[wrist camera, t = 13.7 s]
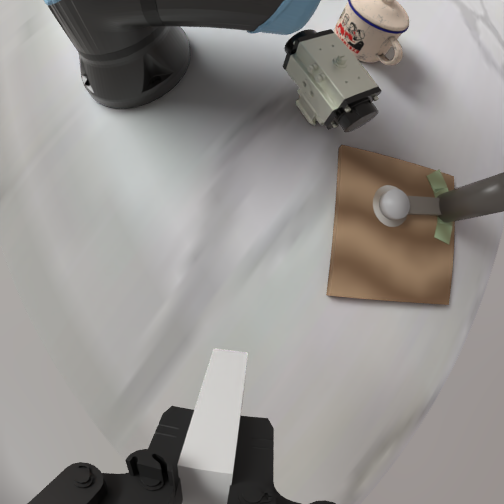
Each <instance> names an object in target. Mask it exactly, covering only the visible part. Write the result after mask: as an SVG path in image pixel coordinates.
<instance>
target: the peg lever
mask: <svg viewBox="0 0 504 504" xmlns="http://www.w3.org/2000/svg"><path fill="white" fill-rule="evenodd" d="M379 208H380V211H381V213H382V215H383V216H384V217H385V218H387V219H389V220H397V219H401V218H404V217H405V216H406V215H434V216H438V217H439V218H440V219H441V220H442V221H443V222H446V223H449V222H454V221H459V220H464V219H469V218H473V217H478V216H483V215H488V214H493V213H498V212H502V211H504V173H500V174H498V175H495V176H492V177H489V178H486V179H483V180H480V181H477V182H474V183H471V184H468V185H465V186H463V187H460V188H457V189H454V190H451V191H448V192H445V193H442V194H440V195H439V196H438V197H437V198H433V197H419V196H407V195H406V194H405V193H404V192H403V191H402V190H400V189H392V190H389V191H387V192H385V193H384V194H382V196H381V197H380V200H379Z"/></svg>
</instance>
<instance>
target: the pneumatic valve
mask: <svg viewBox="0 0 504 504" xmlns="http://www.w3.org/2000/svg"><path fill="white" fill-rule="evenodd" d="M285 52H286V53H287V55H286V58H285V61H284V64H283V68H284V69H285V70H286V72H287V73H288V74H289V75H290V77H291V78H292V79H293V81H294V82H295V83H296V85H297V86H298V87H299V89H298V91H297V92H298V94H299V95H300V97H299V99H297V100H296V105H297V107H298V108H299V109H300V111H301V112H302V114H303V115H304V117H305V118H306V119H307V121H308V122H309V124H310V123H311V124H312V125H316V122H315V121H316V120H317V121H318V122H319V123H320V125H326V127H327V128H328V130H329V129H331V128H333V127H334V128H336V127H338V125H340V126H341V127H342V129H343V130H344V132H350V131H353V130H355V129H357V128H359V127H361V126H362V125H364V124H366V123H367V122H369V121H370V120H371V119H373V118H374V117H375V116H376V115H377V114H378V110H377V108H376V107H375V105H374V104H373V103H372V101H373V100H374V101H376V100H378V97H377V96H378V95H379V94H380V92H381V89H380V88H379V87H378V85H377V84H376V83H375V81H374V80H373V79H372V77H371V76H370V75H369V74H368V72H367V71H366V70H365V68H364V67H363V66H362V65H361V63H360V62H359V61H358V60H357V58H356V57H355V56H354V55H353V54H352V52H351V51H350V50H349V49H348V48H347V46H346V45H345V44H344V43H343V42H342V41H341V40H340V38H339V37H338V36H337V35H336V34H335V33H334V32H333V31H332V30H331V29H330V30H326V31H322V32H318V33H316V31H314V30H304V31H301V32H299V33H297V34H295V35H294V36H293V37H291V38H290V39H289V40H288V42H287V43H286V45H285Z"/></svg>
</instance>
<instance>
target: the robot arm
mask: <svg viewBox="0 0 504 504" xmlns="http://www.w3.org/2000/svg"><path fill="white" fill-rule="evenodd" d="M320 1H321V0H44V2H45V3H46V4H47V5H48V7H49V9H50V10H51V12H52V13H53V15H54V16H55V18H56V19H57V21H58V22H59V24H60V25H61V27H62V28H63V30H64V31H65V33H66V34H67V36H68V37H69V39H70V40H71V42H72V43H73V45H74V46H75V48H76V49H77V51H78V52H79V59H80V69H81V77H82V81H83V84H84V86H85V88H86V89H87V91H88V92H89V93H90V95H91V96H92V97H93V98H94V99H95V100H96V101H97V102H99V103H100V104H102V105H104V106H107V107H112V108H131V107H137V106H140V105H144V104H146V103H149V102H151V101H154V100H155V99H157V98H159V97H161V96H162V95H164V94H165V93H167V92H168V91H169V90H171V89H172V88H173V87H174V86H175V85H176V84H177V83H178V82H179V81H180V80H181V78H182V77H183V75H184V74H185V72H186V70H187V68H188V65H189V61H190V49H189V42H188V38H187V36H186V34H185V32H184V31H183V29H182V28H181V27H180V26H187V27H212V28H226V29H237V30H247V32H248V33H258V32H263V33H272V34H281V35H287V34H291V33H294V32H296V31H298V30H300V29H301V28H302V27H303V26H304V25H305V24H306V23H307V22H308V21H309V19H310V18H311V17H312V15H313V13H314V12H315V10H316V8H317V6H318V5H319V3H320ZM247 358H248V352H240V351H232V350H224V349H216V348H214V349H213V352H212V355H211V358H210V361H209V365H208V368H207V371H206V374H205V377H204V381H203V384H202V387H201V390H200V393H199V397H198V400H197V403H196V406H195V409H194V410H191V409H186V408H180V407H175V406H171V407H170V408H169V409H168V410H167V411H166V412H164V413H163V415H162V417H161V420H160V422H159V426H158V427H157V429H156V431H155V434H154V436H153V439H152V441H151V443H150V446H149V448H148V449H144V450H138V451H135V452H134V453H132V454H130V455H129V456H128V458H127V459H126V464H127V467H128V470H129V473H126V474H107V473H101V471H100V470H98V468H96V467H95V466H93V465H91V464H89V463H81V462H80V463H75V464H72V465H70V466H68V467H67V468H66V469H65V470H64V471H63V472H61V473H60V474H59V475H58V476H57V477H56V478H55V479H54V480H53V481H52V482H51V483H50V484H49V485H47V486H46V487H45V488H44V489H43V490H42V491H41V492H40V493H39V494H38V495H37V496H36V497H34V498H33V499H32V500H31V501H30V502H29V503H28V504H300V503H297V502H293V501H290V500H288V499H286V498H284V497H283V496H281V495H280V494H279V493H278V492H277V491H276V489H275V487H274V483H273V427H272V425H271V423H270V421H269V420H268V418H257V417H247V416H241V410H242V402H243V393H244V385H245V376H246V367H247ZM310 504H335V503H333V502H329V501H316V502H313V503H310Z"/></svg>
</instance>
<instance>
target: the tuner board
mask: <svg viewBox="0 0 504 504" xmlns="http://www.w3.org/2000/svg"><path fill="white" fill-rule="evenodd" d="M392 189H400V190H402V191H403V192H404V193H405V194H406V195H407V196H419V197H433V198H437V197H438V196H439V195H440V194H442V193H445V192H448V191H451V190H454V176H451V175H448V174H445V173H442V172H440V170H437V171H436V170H433V169H430V168H427V167H423V166H420V165H417V164H414V163H410V162H407V161H403V160H400V159H396V158H393V157H389V156H385V155H382V154H378V153H374V152H370V151H366V150H362V149H358V148H353V147H349V146H345V145H341V146H340V147H339V152H338V173H337V190H336V204H335V217H334V229H333V240H332V250H331V260H330V269H329V278H328V286H327V294H326V295H329V296H338V297H349V298H361V299H373V300H386V301H399V302H413V303H428V304H444V305H449V298H450V289H451V280H452V268H453V254H454V231H455V221H454V222H449V223H446V222H443V221H442V220H441V219H440V218H439V217H438V216H434V215H406V216H405V217H404V218H401V219H397V220H389V219H387V218H385V217H384V216H383V215H382V213H381V211H380V208H379V200H380V197H381V196H382V194H384V193H385V192H387V191H389V190H392Z"/></svg>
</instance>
